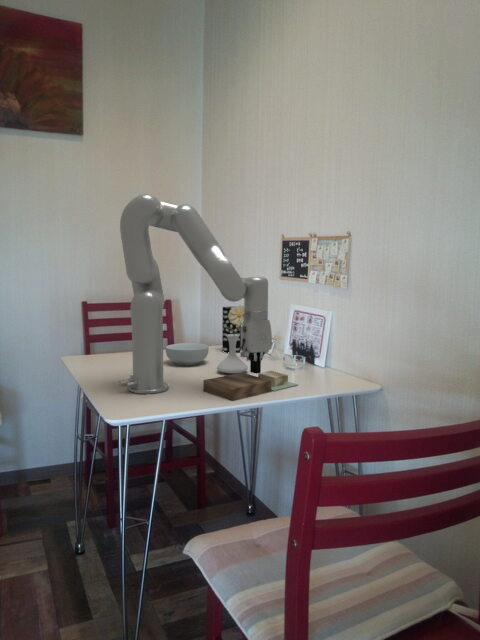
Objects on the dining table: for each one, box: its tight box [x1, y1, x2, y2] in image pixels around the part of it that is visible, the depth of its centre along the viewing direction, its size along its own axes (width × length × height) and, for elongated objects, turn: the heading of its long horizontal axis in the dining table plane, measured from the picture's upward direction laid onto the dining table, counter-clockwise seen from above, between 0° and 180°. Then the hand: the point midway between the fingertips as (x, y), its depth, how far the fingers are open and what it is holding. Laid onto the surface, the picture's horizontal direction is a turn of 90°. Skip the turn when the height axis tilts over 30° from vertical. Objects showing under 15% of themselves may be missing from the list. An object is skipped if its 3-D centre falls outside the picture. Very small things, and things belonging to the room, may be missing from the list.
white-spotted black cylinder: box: [221, 306, 242, 353], centre depth 217 cm, size 8×8×20 cm
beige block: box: [257, 370, 289, 387], centre depth 161 cm, size 6×8×3 cm
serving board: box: [203, 372, 272, 401], centre depth 151 cm, size 16×14×4 cm
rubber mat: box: [271, 381, 299, 393], centre depth 161 cm, size 12×15×1 cm
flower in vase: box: [216, 304, 249, 375], centre depth 175 cm, size 13×11×25 cm
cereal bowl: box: [165, 342, 210, 366], centre depth 192 cm, size 17×17×7 cm
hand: (255, 372), depth 156 cm, fingers closed
